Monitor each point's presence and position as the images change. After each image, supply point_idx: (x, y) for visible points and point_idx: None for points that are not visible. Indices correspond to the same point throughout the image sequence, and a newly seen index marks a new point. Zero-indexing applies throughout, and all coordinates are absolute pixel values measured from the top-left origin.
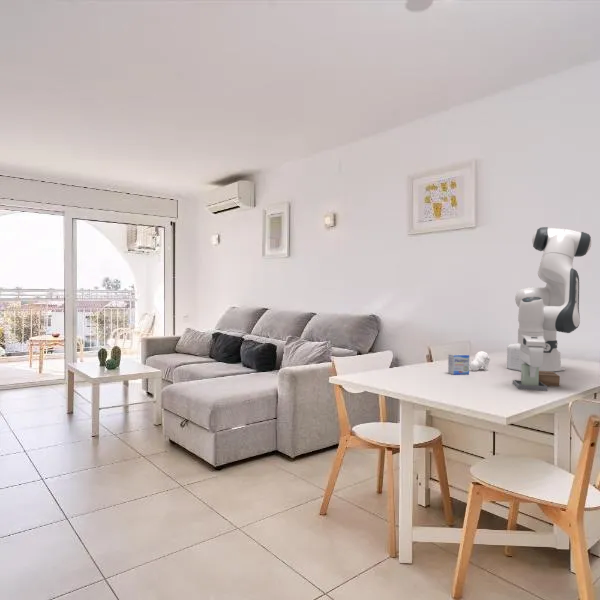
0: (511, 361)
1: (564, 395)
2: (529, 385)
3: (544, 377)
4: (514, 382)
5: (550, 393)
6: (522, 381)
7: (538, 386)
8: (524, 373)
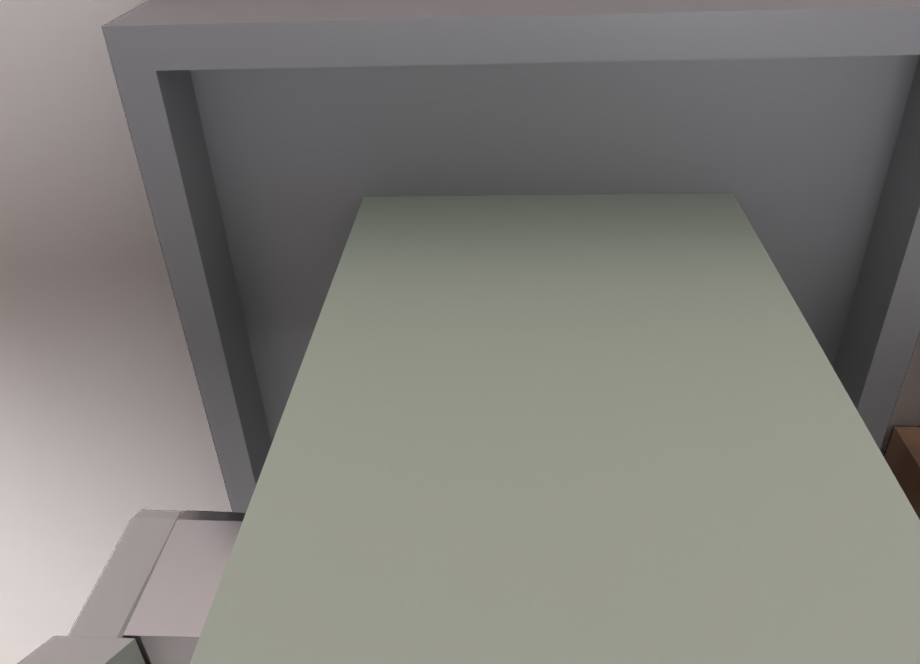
0: None
1: (22, 648)
2: (207, 324)
3: None
4: (700, 5)
5: (54, 529)
6: (560, 246)
7: (226, 475)
8: (277, 449)
